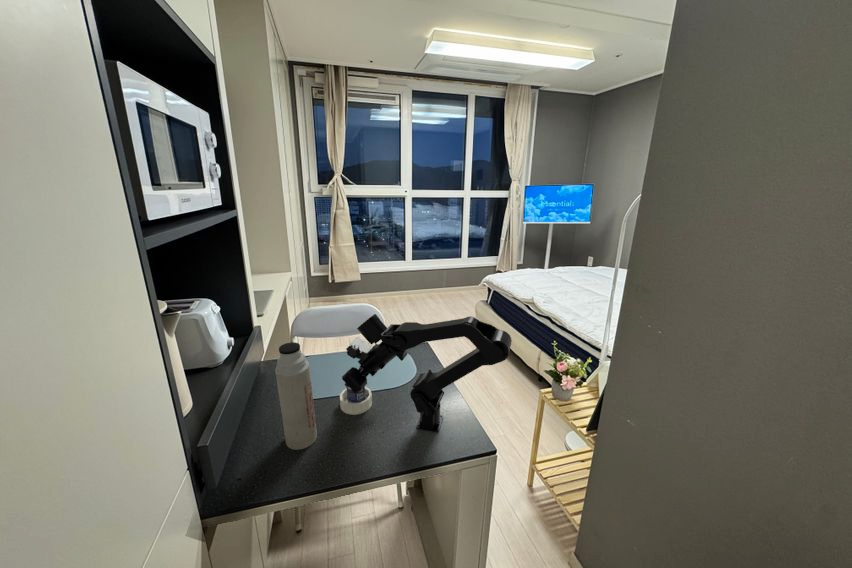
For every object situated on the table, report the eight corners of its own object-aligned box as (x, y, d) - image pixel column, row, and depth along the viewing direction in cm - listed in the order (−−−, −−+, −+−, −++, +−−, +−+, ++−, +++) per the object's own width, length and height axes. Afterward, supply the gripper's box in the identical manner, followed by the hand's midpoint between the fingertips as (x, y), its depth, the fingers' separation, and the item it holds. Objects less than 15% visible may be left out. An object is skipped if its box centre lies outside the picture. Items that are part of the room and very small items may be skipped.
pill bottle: (359, 410, 104) (357, 382, 101) (344, 405, 106) (342, 377, 103) (368, 399, 109) (367, 372, 106) (354, 395, 111) (352, 368, 107)
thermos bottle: (322, 430, 97) (312, 340, 88) (307, 452, 90) (295, 356, 81) (296, 426, 98) (284, 337, 90) (279, 447, 91) (264, 352, 82)
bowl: (364, 417, 102) (363, 407, 101) (334, 411, 104) (333, 401, 103) (376, 397, 111) (376, 388, 110) (349, 392, 113) (348, 383, 112)
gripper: (378, 320, 107) (349, 346, 114) (345, 348, 90) (314, 377, 97) (402, 347, 107) (372, 371, 114) (374, 380, 90) (340, 406, 97)
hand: (351, 380), depth 105 cm, fingers open, 6 cm apart
